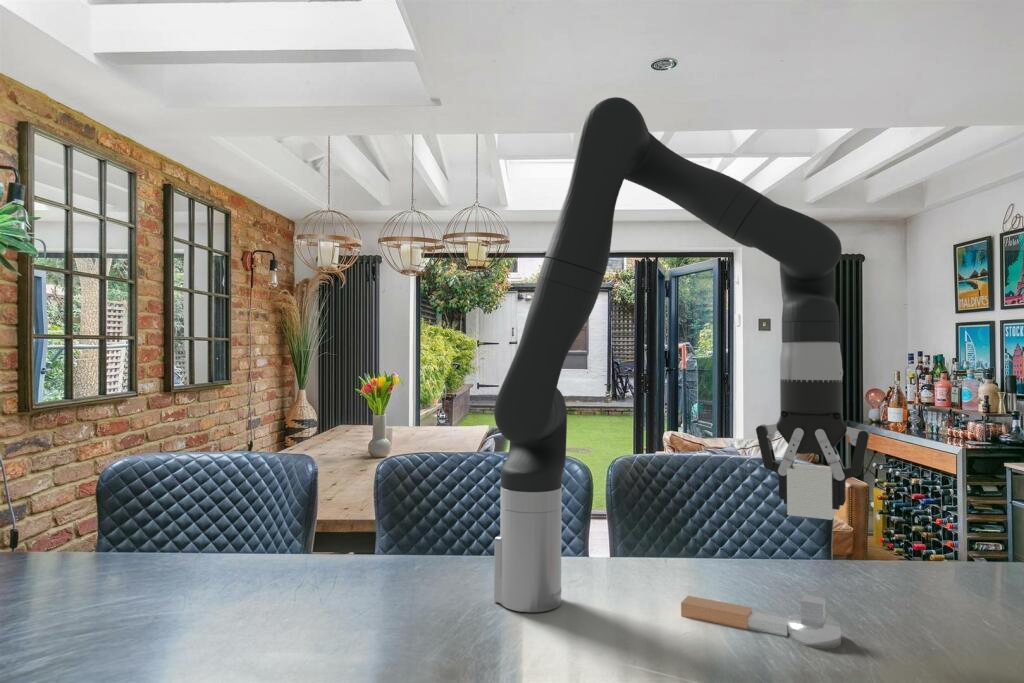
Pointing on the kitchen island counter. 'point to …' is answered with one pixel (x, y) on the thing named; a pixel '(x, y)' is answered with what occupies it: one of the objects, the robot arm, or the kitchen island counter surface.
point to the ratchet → (771, 620)
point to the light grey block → (810, 491)
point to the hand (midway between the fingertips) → (812, 505)
